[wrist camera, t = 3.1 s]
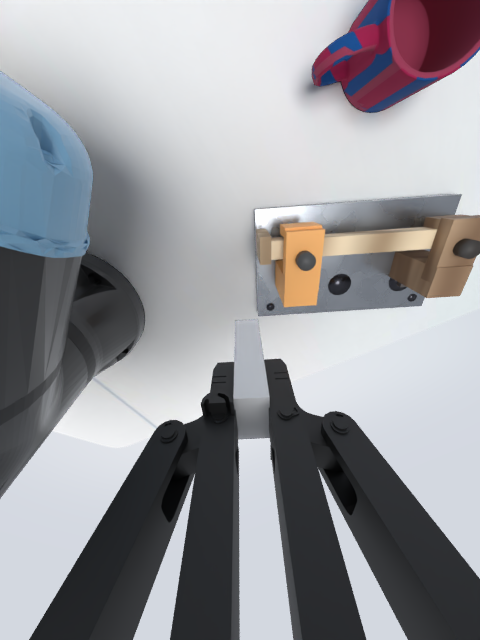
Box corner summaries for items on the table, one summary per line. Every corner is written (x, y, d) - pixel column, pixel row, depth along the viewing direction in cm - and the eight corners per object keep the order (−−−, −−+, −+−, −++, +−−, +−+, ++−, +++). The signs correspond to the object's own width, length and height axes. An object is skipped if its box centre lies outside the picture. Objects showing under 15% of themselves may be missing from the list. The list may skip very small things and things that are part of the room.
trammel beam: (257, 293, 27) (263, 323, 21) (255, 223, 23) (262, 235, 17) (429, 282, 27) (486, 309, 21) (456, 209, 23) (534, 216, 17)
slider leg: (275, 293, 27) (285, 323, 21) (275, 220, 23) (289, 231, 17) (300, 292, 27) (319, 321, 21) (306, 218, 23) (330, 228, 17)
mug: (418, 101, 20) (496, 64, 14) (301, 131, 21) (327, 107, 15) (435, -21, 16) (546, -139, 11) (295, 20, 17) (326, -68, 11)
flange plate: (257, 311, 30) (258, 316, 28) (254, 208, 24) (255, 210, 23) (414, 301, 29) (421, 306, 28) (451, 194, 23) (462, 194, 22)
